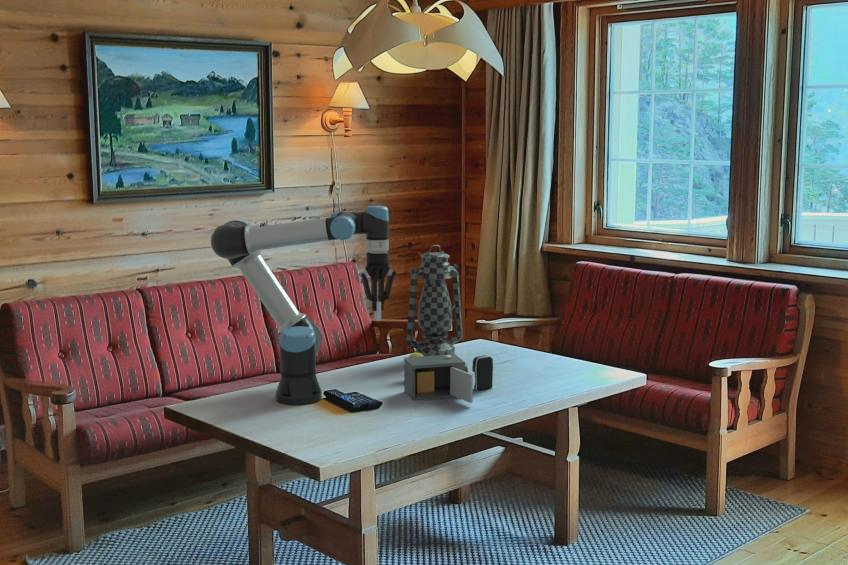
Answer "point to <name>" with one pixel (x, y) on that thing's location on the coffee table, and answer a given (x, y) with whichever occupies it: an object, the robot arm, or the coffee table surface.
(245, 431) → the coffee table surface
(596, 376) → the coffee table surface
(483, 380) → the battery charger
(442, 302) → the lantern
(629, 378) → the coffee table surface
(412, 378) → the small grey cabinet
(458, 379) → the cabinet door
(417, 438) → the coffee table surface
